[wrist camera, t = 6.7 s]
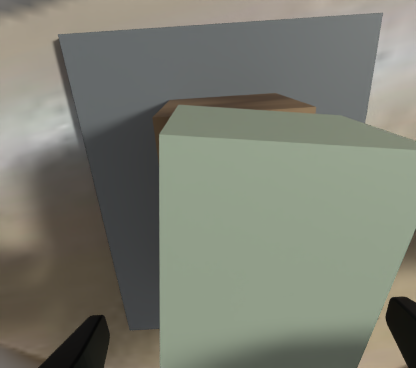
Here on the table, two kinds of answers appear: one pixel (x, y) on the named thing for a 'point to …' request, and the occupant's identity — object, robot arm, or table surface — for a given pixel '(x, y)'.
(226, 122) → the lintel
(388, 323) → the robot arm
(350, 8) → the table surface
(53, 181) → the table surface
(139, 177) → the board
